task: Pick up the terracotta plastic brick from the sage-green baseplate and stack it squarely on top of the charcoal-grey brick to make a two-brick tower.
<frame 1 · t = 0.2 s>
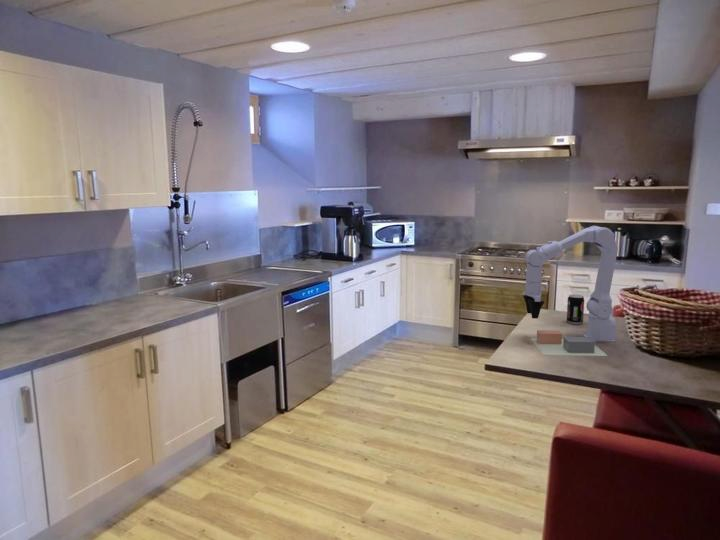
hand: (532, 315, 197), 10 cm above the table, tool pointing down, fingers open, 7 cm apart
grey base brick: (578, 349, 184), resting on baseplate
beverage can: (574, 323, 222), on the table
terracotta brick: (548, 342, 194), resting on baseplate
baseplate: (566, 347, 189), on the table
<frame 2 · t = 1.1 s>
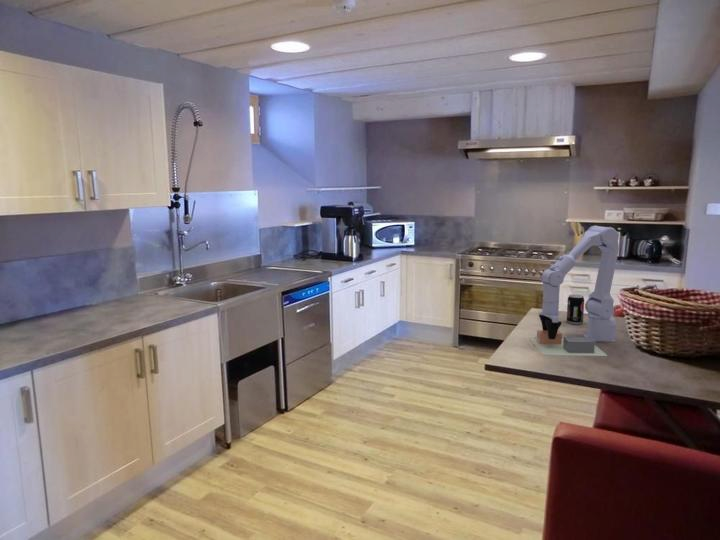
hand: (549, 336, 194), 3 cm above the table, tool pointing down, fingers open, 7 cm apart
nothing on the table moved.
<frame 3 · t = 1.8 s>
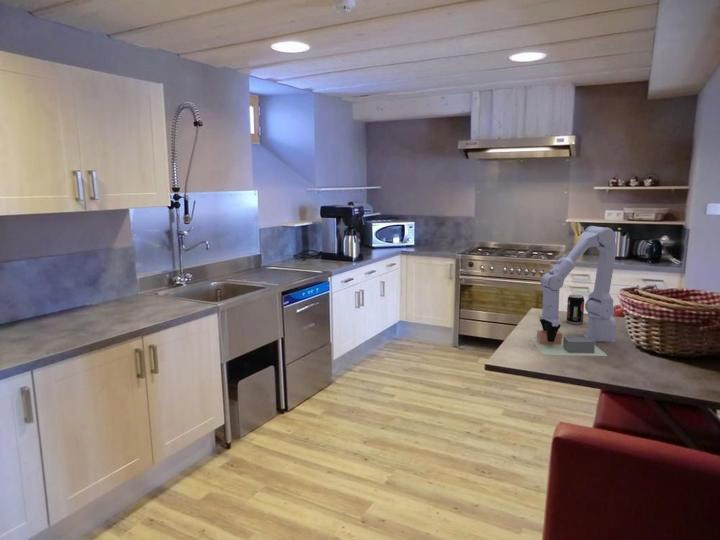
hand: (549, 339, 194), 1 cm above the table, tool pointing down, fingers closed on terracotta brick, 4 cm apart
terracotta brick: (548, 342, 194), resting on baseplate, touching gripper
everything else where it was.
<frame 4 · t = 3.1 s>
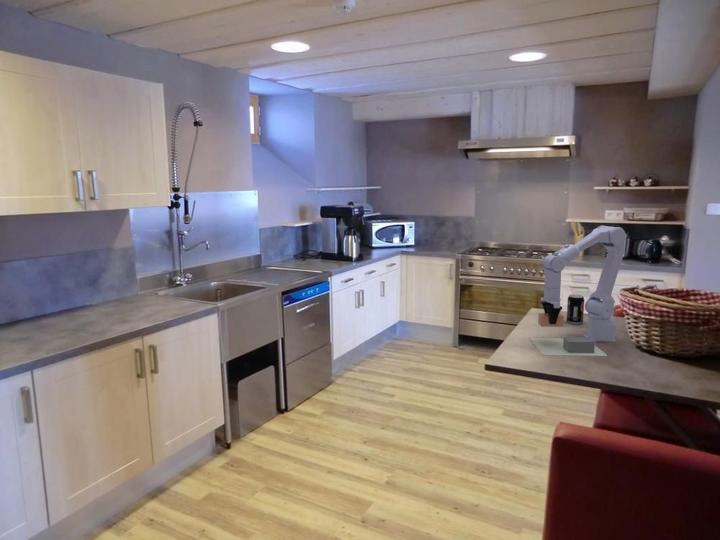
hand: (550, 322, 192), 8 cm above the table, tool pointing down, fingers closed on terracotta brick, 4 cm apart
terracotta brick: (550, 324, 193), point 7 cm above the table, touching gripper
everything else where it was.
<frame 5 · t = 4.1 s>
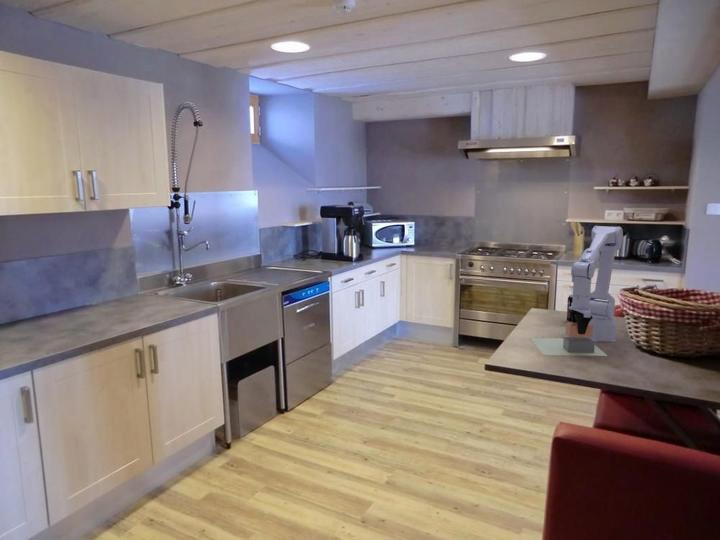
hand: (579, 331, 183), 7 cm above the table, tool pointing down, fingers closed on terracotta brick, 4 cm apart
terracotta brick: (578, 334, 184), point 6 cm above the table, touching gripper
everything else where it was.
when the fingers open (7 cm above the table, at t = 4.6 s): terracotta brick drops 1 cm, resting on grey base brick.
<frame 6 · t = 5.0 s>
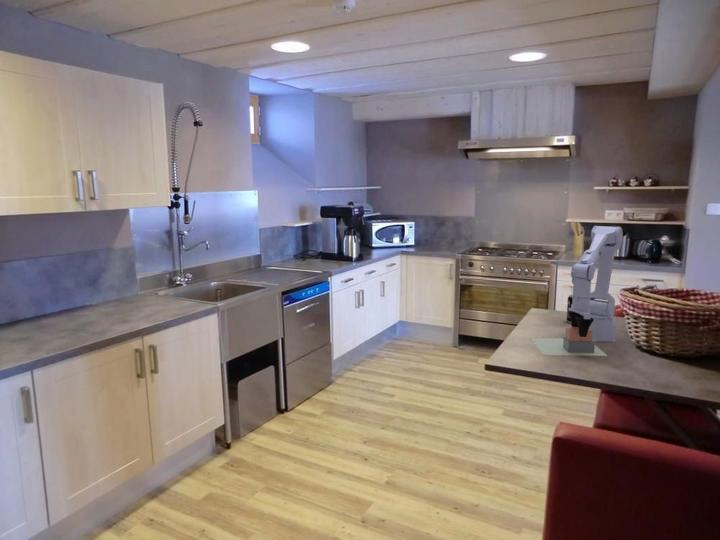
hand: (579, 333, 183), 7 cm above the table, tool pointing down, fingers open, 7 cm apart
grey base brick: (578, 349, 184), resting on baseplate, touching terracotta brick
terracotta brick: (578, 339, 184), point 4 cm above the table, touching grey base brick
everything else where it was.
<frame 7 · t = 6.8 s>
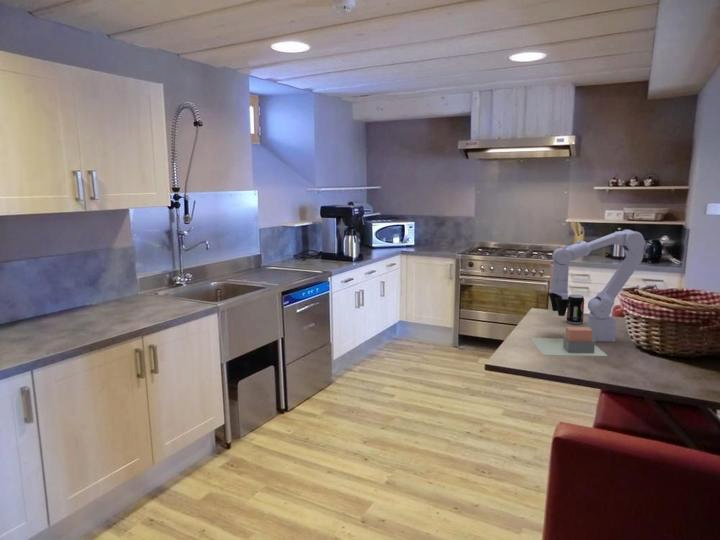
hand: (558, 313, 199), 10 cm above the table, tool pointing down, fingers open, 7 cm apart
nothing on the table moved.
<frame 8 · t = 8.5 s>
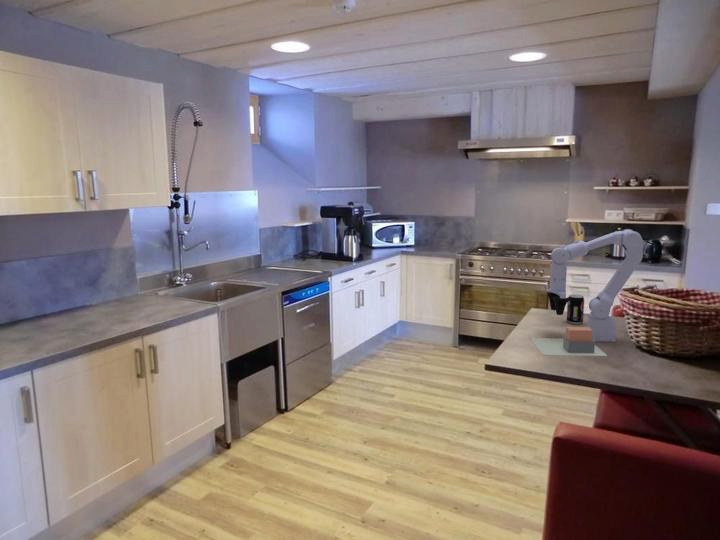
hand: (556, 312, 201), 10 cm above the table, tool pointing down, fingers open, 7 cm apart
nothing on the table moved.
at the end: terracotta brick 0.1 cm off-centre on the grey base brick, point 4.0 cm above the grey base brick's base; terracotta brick tilted 0°; terracotta brick touching grey base brick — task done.
